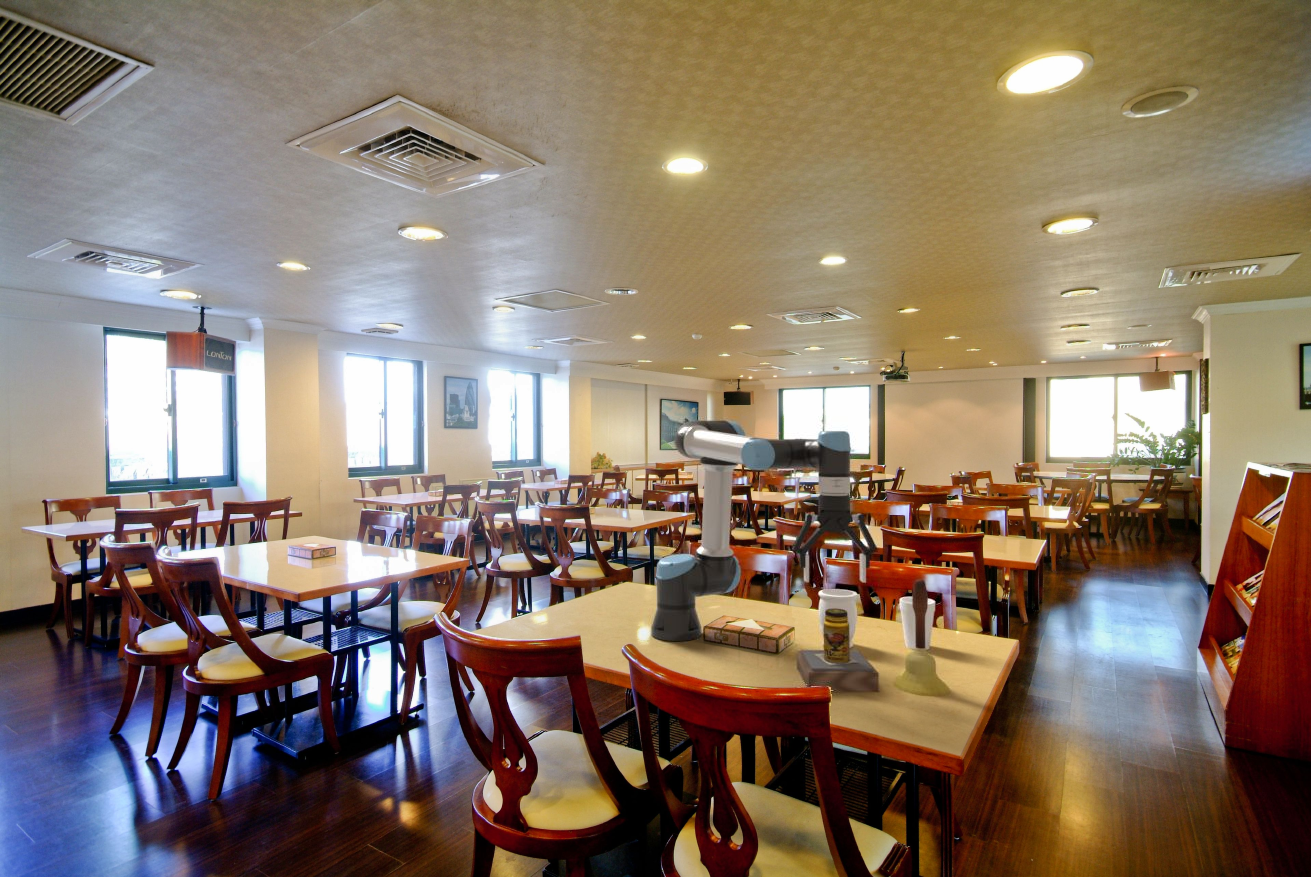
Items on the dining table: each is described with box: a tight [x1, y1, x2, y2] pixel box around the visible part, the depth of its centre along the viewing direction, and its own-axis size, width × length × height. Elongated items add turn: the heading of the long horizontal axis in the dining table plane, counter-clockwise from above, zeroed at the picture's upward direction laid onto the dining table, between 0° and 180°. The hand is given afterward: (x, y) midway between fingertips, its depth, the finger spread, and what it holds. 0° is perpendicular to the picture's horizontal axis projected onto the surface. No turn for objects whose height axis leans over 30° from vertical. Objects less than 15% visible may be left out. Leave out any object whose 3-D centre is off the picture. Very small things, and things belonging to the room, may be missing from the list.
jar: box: [818, 588, 858, 649], centre depth 192 cm, size 11×10×15 cm
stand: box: [796, 649, 880, 693], centre depth 164 cm, size 16×16×5 cm
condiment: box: [814, 608, 857, 665], centre depth 164 cm, size 7×8×12 cm
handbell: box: [892, 579, 950, 697], centre depth 159 cm, size 12×12×25 cm
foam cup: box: [899, 596, 936, 651], centre depth 190 cm, size 10×9×13 cm
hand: (834, 581), depth 164 cm, fingers open, 13 cm apart
